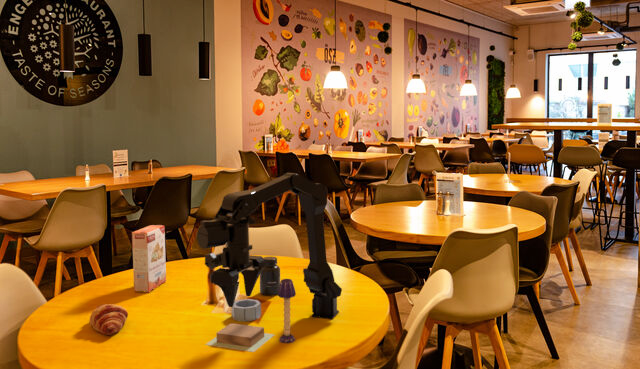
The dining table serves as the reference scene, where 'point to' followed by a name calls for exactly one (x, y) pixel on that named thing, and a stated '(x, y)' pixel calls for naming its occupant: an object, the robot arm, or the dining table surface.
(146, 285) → the cracker box
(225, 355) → the dining table surface
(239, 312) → the bowl
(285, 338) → the toy lamp
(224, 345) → the mat
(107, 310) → the croissant
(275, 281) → the supplement bottle
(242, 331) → the brown flat block
